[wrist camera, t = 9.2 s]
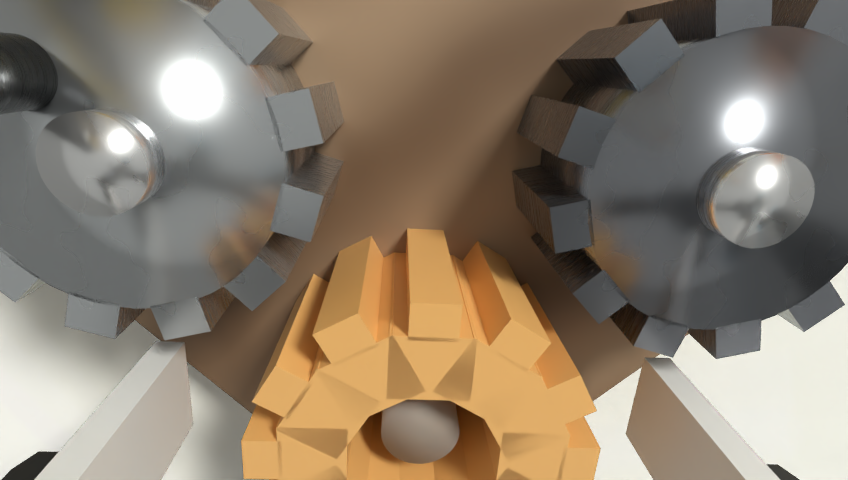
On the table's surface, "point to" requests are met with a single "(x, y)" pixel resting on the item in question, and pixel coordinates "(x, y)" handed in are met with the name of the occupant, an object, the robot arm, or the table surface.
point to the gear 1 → (157, 157)
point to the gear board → (428, 174)
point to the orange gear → (419, 372)
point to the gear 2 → (697, 170)
